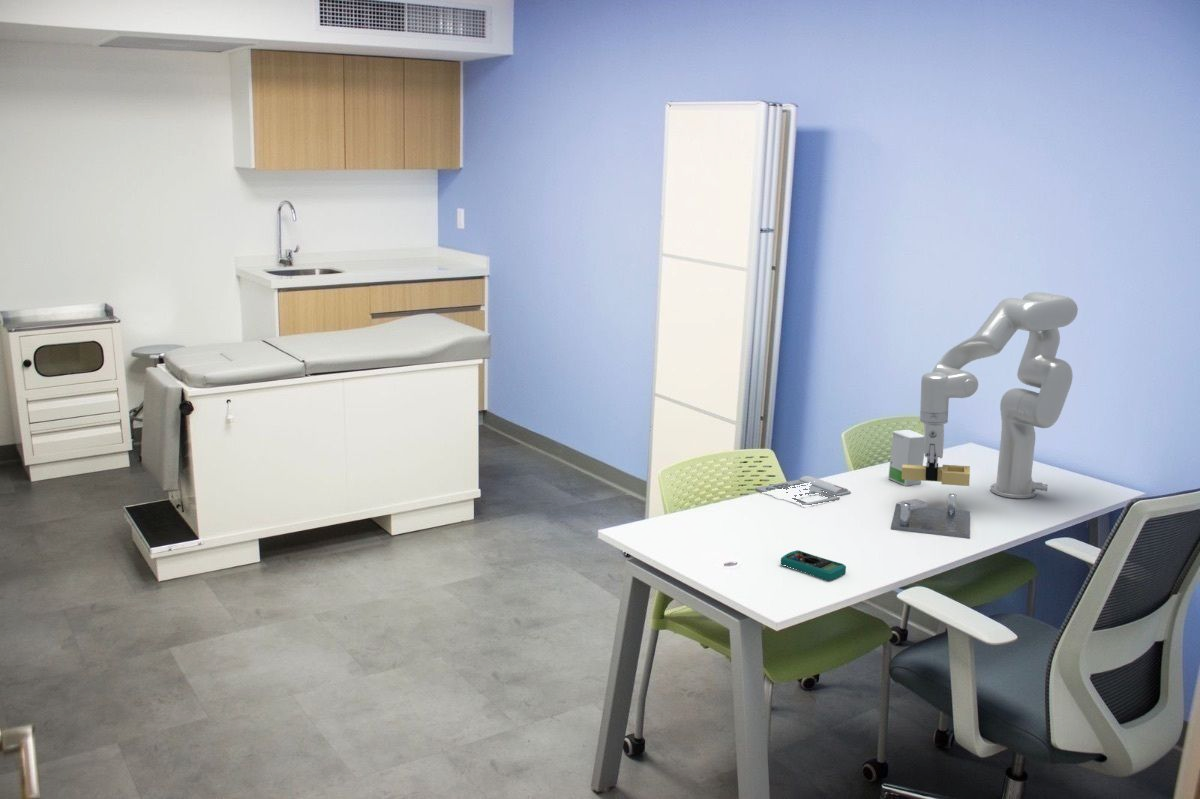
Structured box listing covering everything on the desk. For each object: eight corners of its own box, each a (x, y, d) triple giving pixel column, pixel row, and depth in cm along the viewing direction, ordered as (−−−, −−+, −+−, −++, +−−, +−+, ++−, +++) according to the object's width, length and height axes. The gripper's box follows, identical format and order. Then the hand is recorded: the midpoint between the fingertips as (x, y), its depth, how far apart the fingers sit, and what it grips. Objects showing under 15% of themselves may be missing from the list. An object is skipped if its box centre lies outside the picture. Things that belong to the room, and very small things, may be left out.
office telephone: (811, 472, 326) (859, 489, 309) (811, 480, 326) (859, 497, 310) (755, 483, 313) (802, 501, 297) (754, 491, 314) (801, 510, 297)
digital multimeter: (795, 558, 261) (795, 547, 260) (847, 575, 251) (847, 563, 250) (777, 566, 256) (778, 555, 255) (830, 583, 246) (830, 571, 245)
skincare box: (887, 479, 326) (891, 430, 322) (904, 476, 328) (908, 428, 325) (906, 486, 318) (909, 437, 315) (922, 484, 321) (926, 435, 317)
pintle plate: (969, 514, 293) (971, 491, 292) (969, 538, 275) (971, 513, 273) (896, 506, 300) (897, 483, 298) (890, 529, 281) (892, 505, 280)
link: (969, 477, 300) (969, 466, 299) (969, 486, 293) (969, 474, 292) (902, 473, 306) (903, 462, 305) (901, 481, 299) (901, 469, 298)
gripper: (947, 424, 287) (944, 488, 291) (948, 409, 302) (946, 470, 306) (918, 423, 289) (916, 486, 294) (921, 408, 304) (919, 468, 309)
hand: (931, 477), depth 300 cm, fingers closed on link, 3 cm apart
